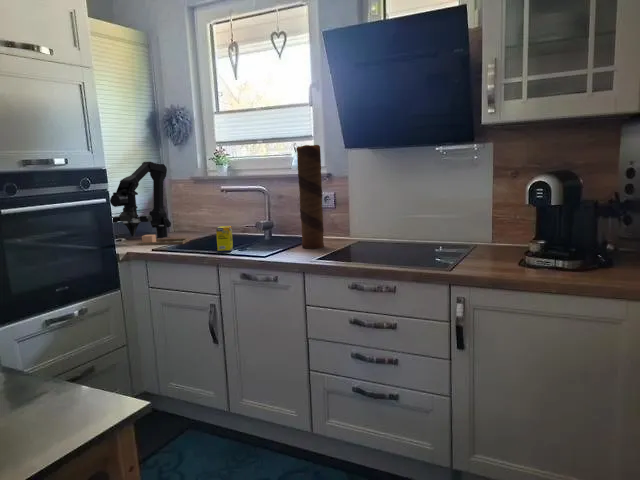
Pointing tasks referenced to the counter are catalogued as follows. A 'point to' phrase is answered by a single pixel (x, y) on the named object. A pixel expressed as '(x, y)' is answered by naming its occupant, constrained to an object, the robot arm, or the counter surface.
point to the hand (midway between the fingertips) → (133, 236)
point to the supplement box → (224, 239)
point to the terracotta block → (148, 238)
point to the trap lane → (167, 242)
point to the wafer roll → (310, 195)
